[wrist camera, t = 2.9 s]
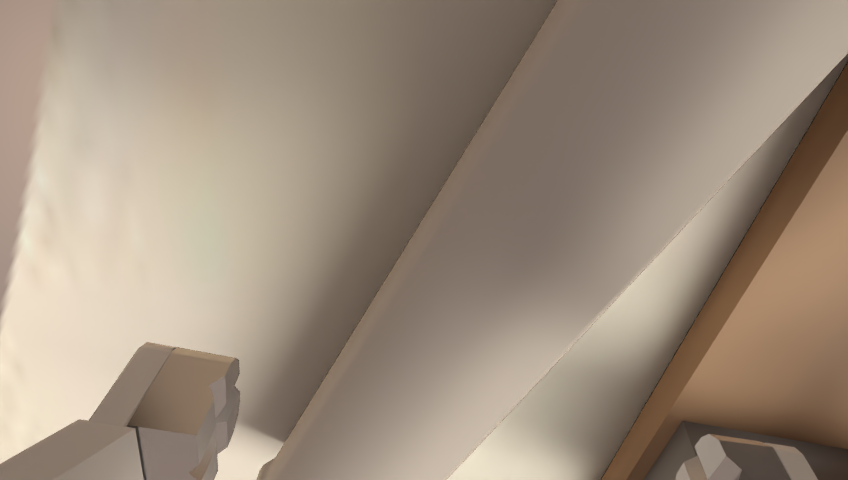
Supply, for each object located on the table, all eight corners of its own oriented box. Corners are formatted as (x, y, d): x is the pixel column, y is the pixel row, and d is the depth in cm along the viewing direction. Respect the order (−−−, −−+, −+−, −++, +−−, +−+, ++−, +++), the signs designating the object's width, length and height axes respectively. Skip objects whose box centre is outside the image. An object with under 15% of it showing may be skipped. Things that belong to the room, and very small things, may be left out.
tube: (898, -658, 5) (209, 533, 18) (1418, -390, 5) (343, 636, 18) (784, -362, 10) (298, 423, 23) (1053, -210, 10) (405, 503, 22)
